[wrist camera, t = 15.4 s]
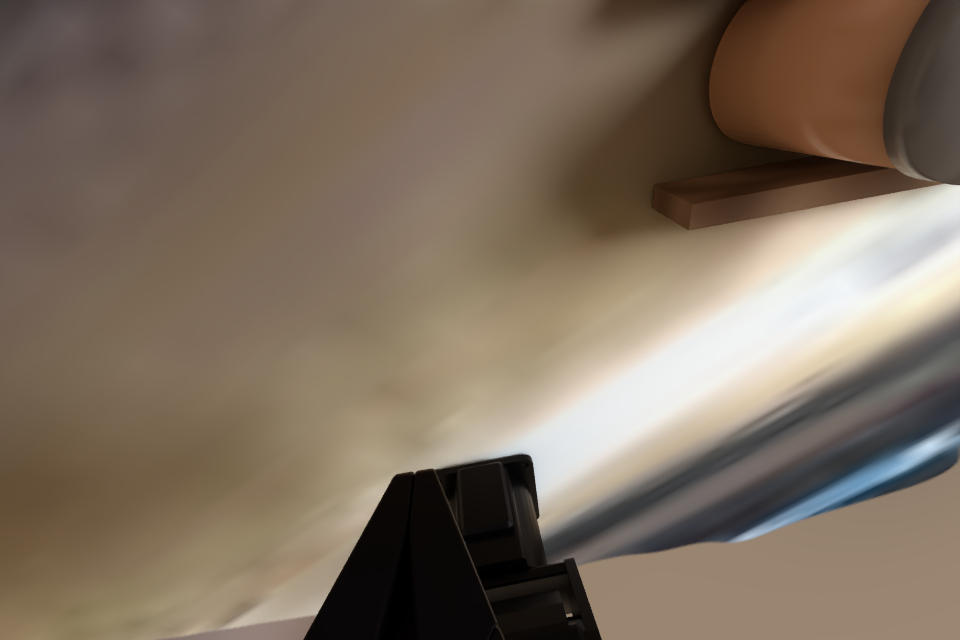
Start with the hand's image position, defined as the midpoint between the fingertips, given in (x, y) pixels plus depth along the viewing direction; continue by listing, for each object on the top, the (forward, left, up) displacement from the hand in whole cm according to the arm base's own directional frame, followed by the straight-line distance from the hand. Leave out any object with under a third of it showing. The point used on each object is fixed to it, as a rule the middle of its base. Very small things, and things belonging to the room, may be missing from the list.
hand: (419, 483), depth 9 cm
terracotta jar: (+6, -15, -11) cm, 19 cm away
